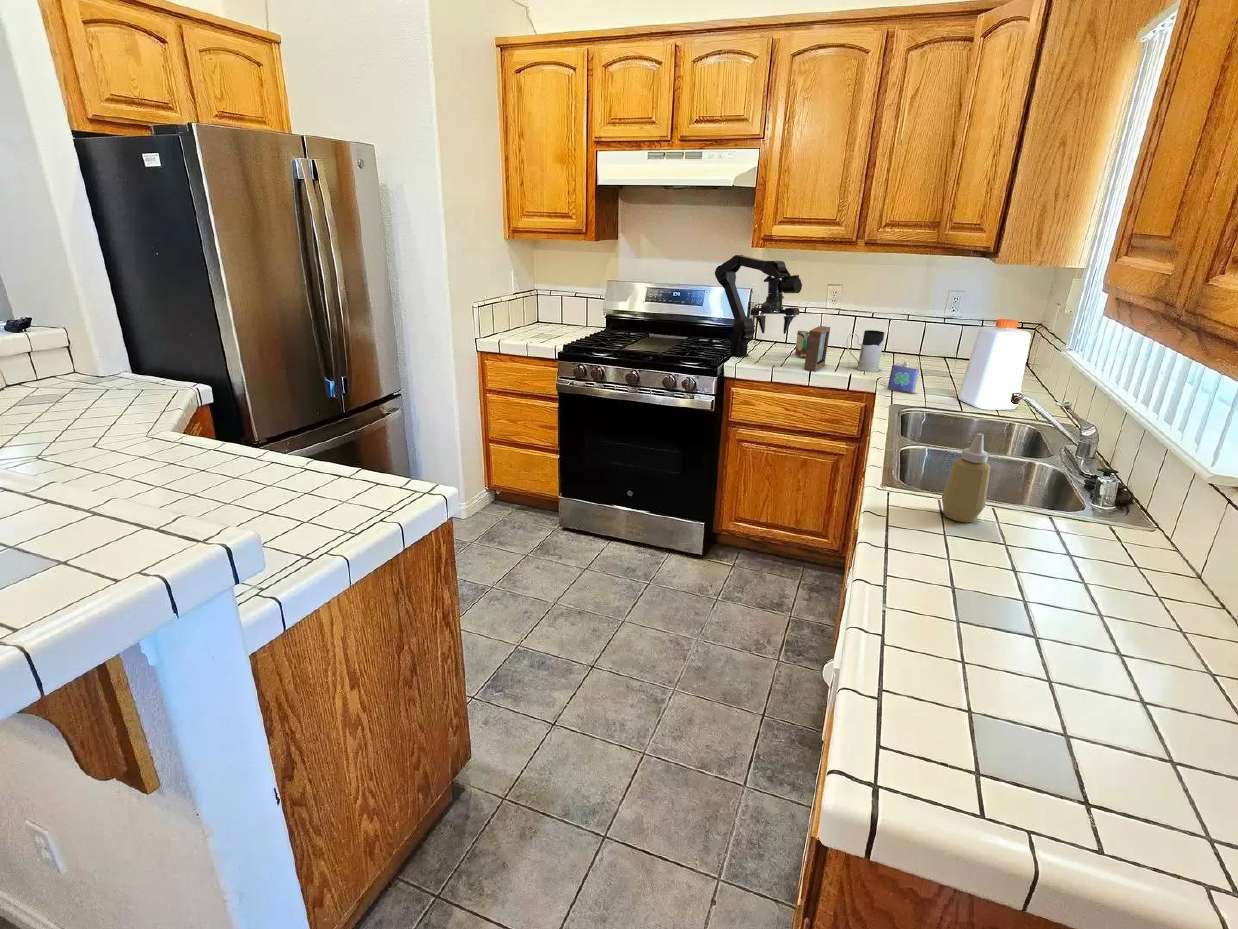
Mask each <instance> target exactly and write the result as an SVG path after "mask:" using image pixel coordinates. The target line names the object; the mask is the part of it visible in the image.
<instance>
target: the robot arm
mask: <svg viewBox="0 0 1238 929" xmlns="http://www.w3.org/2000/svg"><path fill="white" fill-rule="evenodd" d="M741 267H744V268H750V269H753V270H758V271H761V273H763V274H764V275H767V277H766V278H765V279H763V282H764V283H767V296H766V299H765V301H763V302H762V303H761V304H760V307H751V309H750V314H749V315H750V316H753V318H755V319H756V320H757V322H758V324H759V328H760V330H761V334H765V331H766V320H767V319H766V317H767V315H784V316H783V334H784V335H786V334H787V331H788V329H789V327H790V325H791V324H792V322H793V319H794V318H796V317H797V316H799V315H800V308H799V307H786V308H784V306H783V299H784V298H785V296H784V294H799V293H801V291H802V288H803V283H802V280H801V278H800V275H799V274H794V275H793V274H792V275H791V273H790V271H789V270H788V268H787V265H786V263H785V261H784V260H765V259H760V258H755V257H751V256H746V255H743V254H735V255H733V256H732V257H731V258H730V259H728V260H726V261H725V262H723V263H722V264H720V265H718V266H716V268H715V271H714V276H715V278H716V280H717V282H718V283H719V285H721V287H723V290H724V292H725V296H726V299H727V302H728V304H729V308H730V310H731V313H732V316H733V319H734V320H733V327H732V328H733V331H732V333H731V332H730V334H729V335H728V340H729V342H731V344H730V352H727V355H729V356H733V357H737V358H742V357H743V358H744V357H748V356H750V355H749V354H748V347H749V346H748V343H749V342H750V341H751V339H752V338H753V336H754V334H755V332H756V329H755V328H756V325H755V323H754V320H753V318H752V317H748V316H747V314H746V312H745V309H744V306H743V304H742V300H741V297H740V295H739V291H738V288H737V285H736V281H737V280H736V279H737V274H736V273H738V272H739V271H740V269H741Z"/></svg>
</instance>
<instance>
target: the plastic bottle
mask: <svg viewBox="0 0 1238 929" xmlns="http://www.w3.org/2000/svg"><path fill="white" fill-rule="evenodd" d="M995 322H996V323H995V325H994V326H993V325H991V326H982V327H980V328H979V329H978V332H977V335H976V338H975V342H974V343H973V344H974V345H973V347H972V350H971V354H970V357H969V360H968V362H967V363H968V364H967V366H966V369H965V372H964V375H963V379H962V382H961V384H960V388H959V391H958V395H957V398H958V400H959V401H961V402H963V403H965V404H967V405H969V406H972V407H975V408H977V409H981V410H986V411H1004V410H1005V411H1007V410H1008V411H1010V410H1014V409H1016V408H1017V407H1018V405H1019V403H1018V404H1013V403H1012V402H1011V397H1012V393H1020V394H1021V390H1022V384H1023V380H1024V374H1025V369H1026V364H1027V363H1026V362H1027V359H1028V353H1029V348H1030V343H1031V338H1032V335H1031V333H1030V332H1029V331H1027V330H1024V329H1019V328H1018V325H1019V321H1018V320H1016V319H1009V318H998V319H996V321H995Z"/></svg>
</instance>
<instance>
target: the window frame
mask: <svg viewBox="0 0 1238 929" xmlns="http://www.w3.org/2000/svg"><path fill="white" fill-rule="evenodd" d="M808 332H809V339H808V346H807V353H806V358H804V367H803V371H810V372H816V371H818V370H819V369H820V368H822V367H824V366H825V364H826V359H827V352H828V346H829V339H830V334H831V326H825V325H824V326H823V325H819V326H816V327H814V328H812V329H810V330H809V331H808Z"/></svg>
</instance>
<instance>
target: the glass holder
mask: <svg viewBox="0 0 1238 929" xmlns="http://www.w3.org/2000/svg"><path fill="white" fill-rule="evenodd" d="M852 335H855V336H856V338H857V345H859V346H860V351H859V357H858V358H857V357H855V355H854V354H853V353H852V352H851V351H850V347H849V338H850V337H851V336H852ZM884 337H885V332H884V331H881V330H875V329H874V330H873V329H869V330H867V329H866V330H864V331H863V338H862V341H861V342H862V343H859V342H860V338H859V335H858V334H857V333H850V334H849V335H848V336H847V338H846V348H847V351H848V353H849V354H850V355H851V356H852V358H854V359H855V360H856V361H857V366H856V369H857V370H858V371H863V372H868V373H869V372H871V373H877V372H880V368H879V367H880V361H881V356H882V351H883V345H884V341H885V340H884V339H885V338H884Z"/></svg>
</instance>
